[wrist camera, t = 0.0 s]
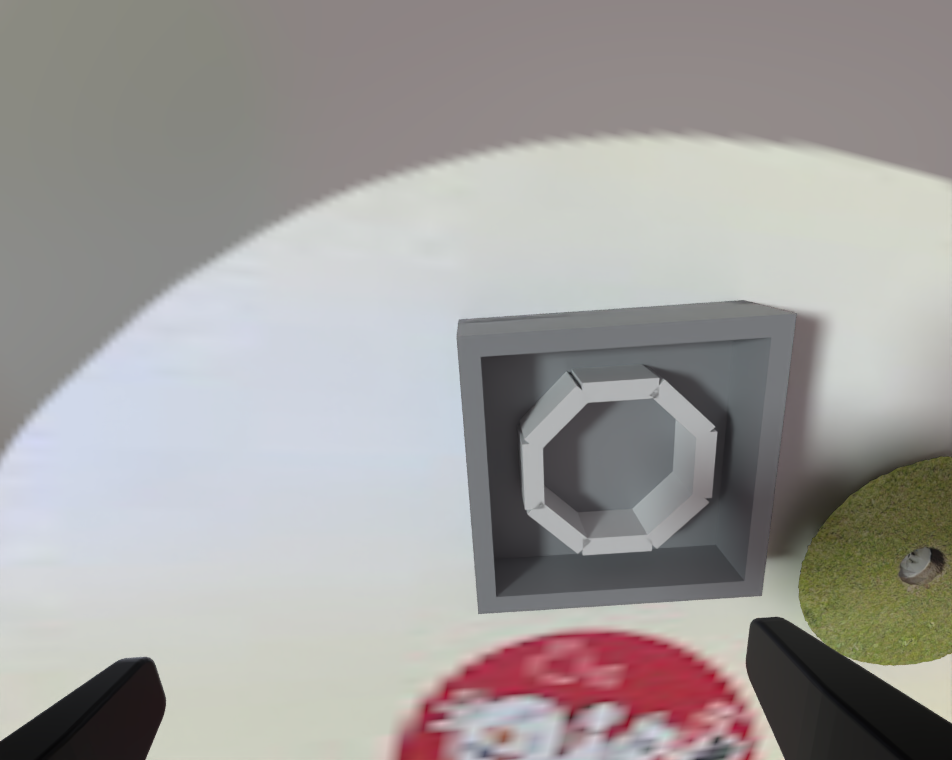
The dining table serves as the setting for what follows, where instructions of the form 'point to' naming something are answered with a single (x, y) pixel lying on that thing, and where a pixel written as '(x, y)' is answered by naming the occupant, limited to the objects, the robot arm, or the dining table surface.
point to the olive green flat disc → (885, 569)
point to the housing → (623, 452)
